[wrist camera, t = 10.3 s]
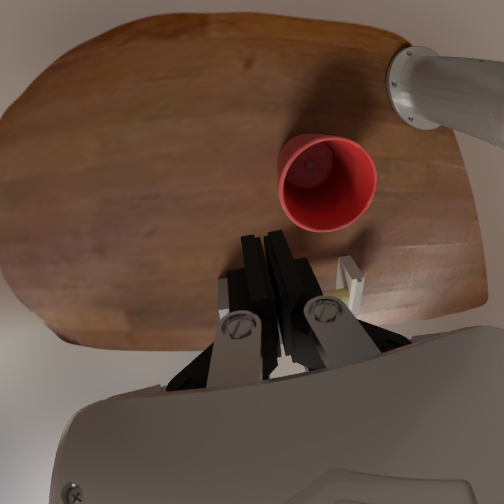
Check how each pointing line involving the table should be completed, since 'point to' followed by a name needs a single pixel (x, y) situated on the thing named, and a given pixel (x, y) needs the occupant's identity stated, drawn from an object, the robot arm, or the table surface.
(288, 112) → the table surface
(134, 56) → the table surface
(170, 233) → the table surface
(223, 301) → the rail
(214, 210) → the table surface
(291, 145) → the flower pot
